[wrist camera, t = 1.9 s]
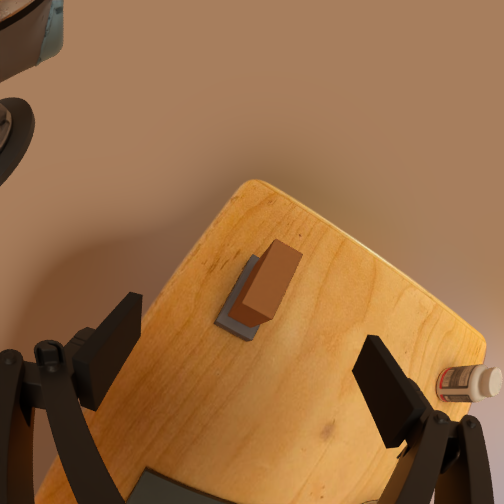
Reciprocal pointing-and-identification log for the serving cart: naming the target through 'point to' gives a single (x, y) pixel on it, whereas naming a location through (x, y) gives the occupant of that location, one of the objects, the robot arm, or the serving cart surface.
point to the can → (371, 502)
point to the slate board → (168, 492)
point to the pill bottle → (468, 383)
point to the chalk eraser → (259, 290)
